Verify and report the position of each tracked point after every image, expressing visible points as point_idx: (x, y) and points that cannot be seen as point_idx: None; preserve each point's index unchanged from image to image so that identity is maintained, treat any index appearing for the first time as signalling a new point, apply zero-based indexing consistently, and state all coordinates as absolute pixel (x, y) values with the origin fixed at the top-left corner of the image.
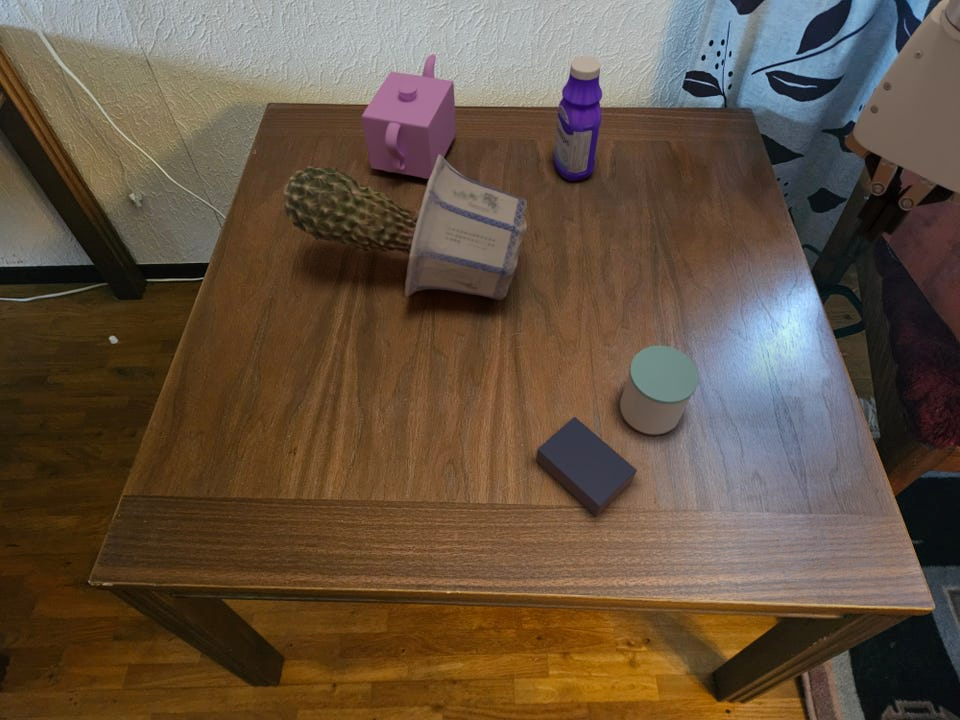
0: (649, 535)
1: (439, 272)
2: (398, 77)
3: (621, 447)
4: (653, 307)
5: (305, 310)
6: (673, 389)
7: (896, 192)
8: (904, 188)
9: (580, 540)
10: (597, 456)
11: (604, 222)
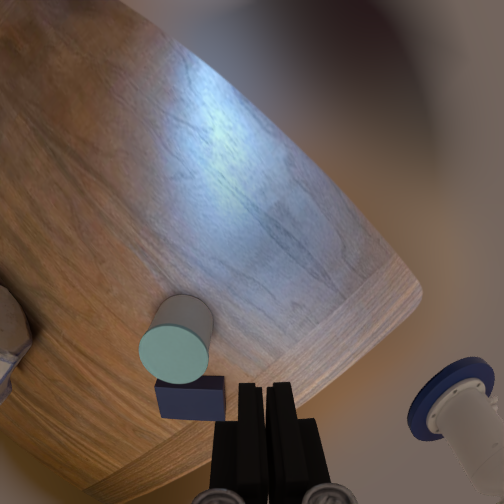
0: None
1: (2, 385)
2: None
3: None
4: (100, 218)
5: None
6: (192, 366)
7: (266, 501)
8: (276, 481)
9: None
10: (193, 399)
11: (5, 169)
